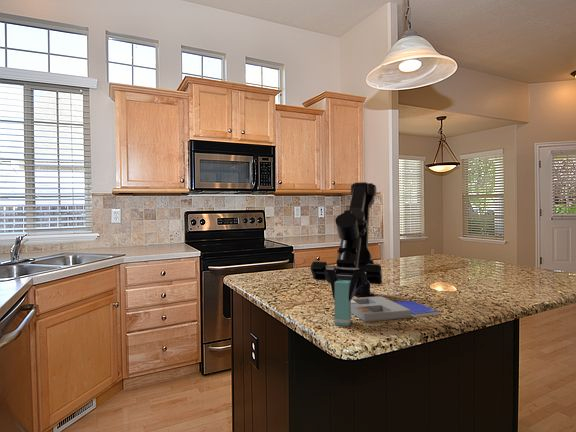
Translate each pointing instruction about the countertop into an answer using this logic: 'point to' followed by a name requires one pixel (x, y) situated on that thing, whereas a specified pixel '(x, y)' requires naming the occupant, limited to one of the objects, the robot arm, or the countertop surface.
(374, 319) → the socket board
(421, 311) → the hard drive
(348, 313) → the plug
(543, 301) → the countertop surface
